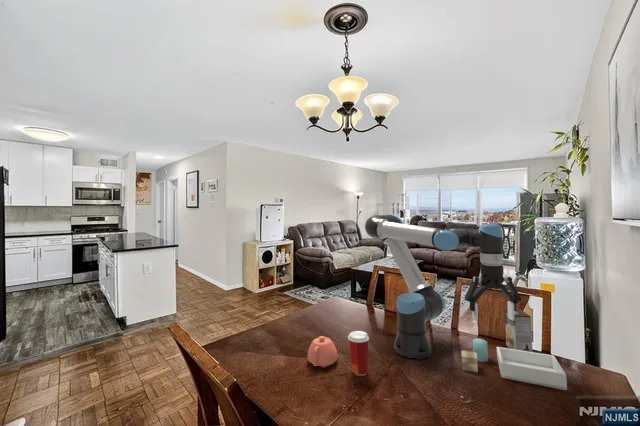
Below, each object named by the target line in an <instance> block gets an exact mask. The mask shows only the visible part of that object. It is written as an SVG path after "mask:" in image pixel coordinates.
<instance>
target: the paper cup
mask: <svg viewBox="0 0 640 426" xmlns="http://www.w3.org/2000/svg"><path fill="white" fill-rule="evenodd" d="M347 339H348V342H349V352H350V353H349V354H350V362H351V371H353V372H354V373H356V374H365V373H367V374H368V371H369V370H368V369H369V368H368V366H369V361H368V360H369V359H368V358H369V357H368V356H369V340H370V337H369V334H368V333H367V332H365V331H361V330H355V331H352V332H351V331H350V333H349V334H348V336H347ZM353 372H352V373H353Z"/></svg>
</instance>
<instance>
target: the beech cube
mask: <svg viewBox="0 0 640 426" xmlns="http://www.w3.org/2000/svg"><path fill="white" fill-rule="evenodd" d="M461 369H462V370H464V371H469V372H473V373H478V372H479V371H478V370H479V369H478V361H477V353H475V352H473V351H469V350H464V349H463V350H461Z"/></svg>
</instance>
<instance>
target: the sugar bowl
mask: <svg viewBox="0 0 640 426" xmlns="http://www.w3.org/2000/svg"><path fill="white" fill-rule="evenodd" d="M338 357H339V355H338V349H337V348H336V346H335V344H334V342H333V340H331V338H329V337H326V336H324V335H321V336H318V337H317V338H316V337H315V338H314V339H313V340H312V341H311V344H310V346H309V347H308V349H307V360H308V362H309V363H310V364H311V363H312V364H313V365H312V364H311V365H312V366H314V367H317V366H328V365H330V366H332V365H334V364H335V362H337V360H338ZM333 363H334V364H333ZM331 364H332V365H331ZM328 367H329V366H328Z"/></svg>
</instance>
